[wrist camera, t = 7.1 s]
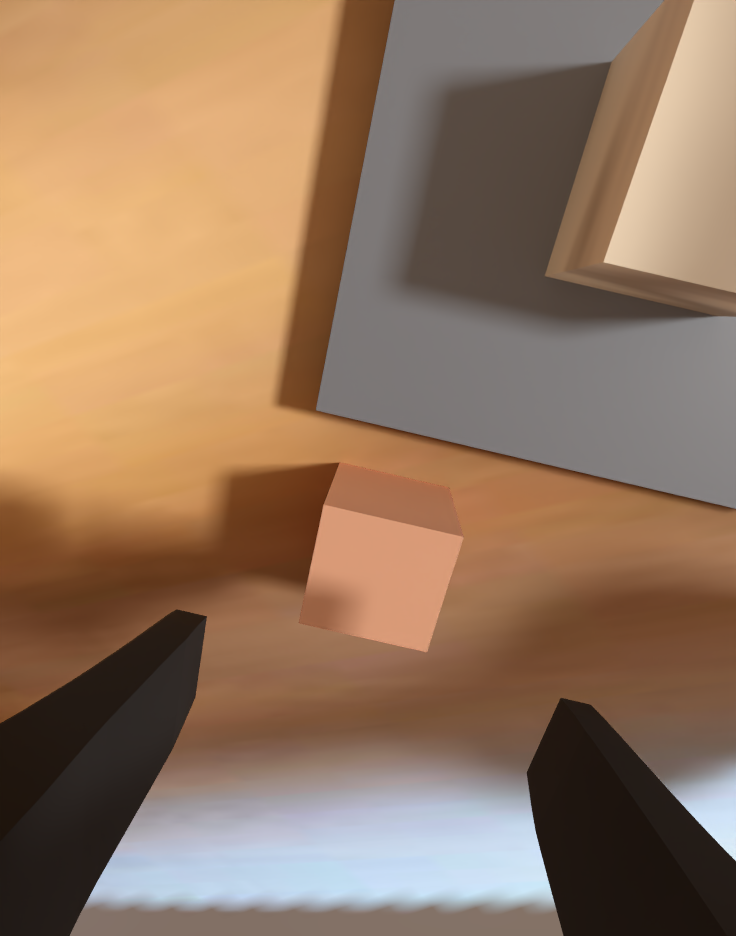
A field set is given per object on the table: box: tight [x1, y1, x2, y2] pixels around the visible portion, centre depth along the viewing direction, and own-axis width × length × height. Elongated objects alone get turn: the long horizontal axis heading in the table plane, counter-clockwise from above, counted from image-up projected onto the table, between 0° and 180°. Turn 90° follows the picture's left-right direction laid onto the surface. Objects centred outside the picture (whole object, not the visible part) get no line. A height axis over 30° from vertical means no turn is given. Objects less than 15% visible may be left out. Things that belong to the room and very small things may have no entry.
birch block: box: [545, 0, 736, 317], centre depth 11 cm, size 5×5×4 cm
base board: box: [316, 0, 736, 509], centre depth 13 cm, size 16×16×2 cm
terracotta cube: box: [299, 462, 464, 652], centre depth 16 cm, size 4×4×4 cm
